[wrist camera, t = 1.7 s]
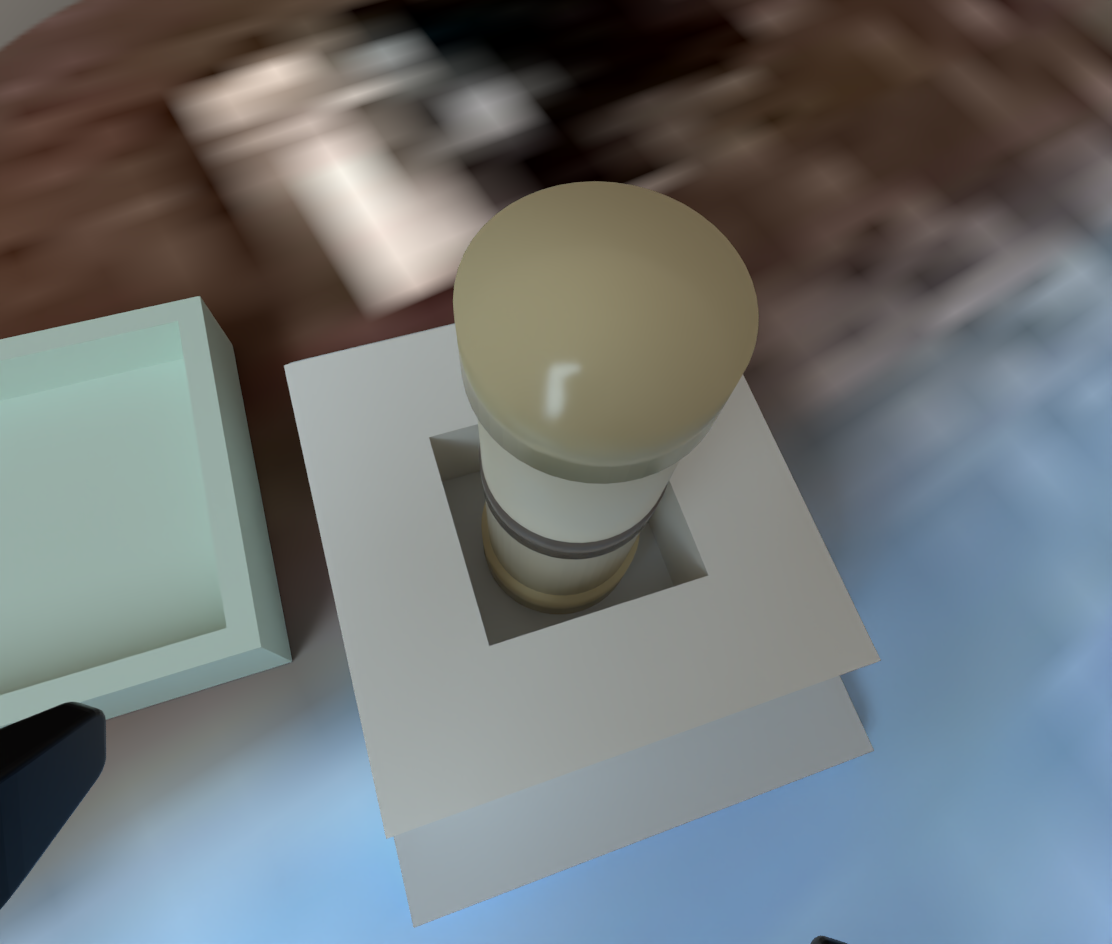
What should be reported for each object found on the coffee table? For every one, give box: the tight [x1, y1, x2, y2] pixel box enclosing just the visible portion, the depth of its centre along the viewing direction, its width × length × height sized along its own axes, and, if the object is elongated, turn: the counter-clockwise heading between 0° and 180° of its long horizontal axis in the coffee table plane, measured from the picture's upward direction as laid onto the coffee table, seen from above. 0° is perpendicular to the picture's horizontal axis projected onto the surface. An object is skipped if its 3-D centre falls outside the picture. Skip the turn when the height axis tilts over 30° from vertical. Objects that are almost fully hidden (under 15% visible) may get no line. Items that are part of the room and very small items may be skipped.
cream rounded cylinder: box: [453, 181, 759, 614], centre depth 17 cm, size 5×5×13 cm
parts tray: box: [0, 296, 292, 728], centre depth 22 cm, size 12×12×3 cm
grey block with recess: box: [284, 323, 881, 928], centre depth 22 cm, size 18×14×4 cm
